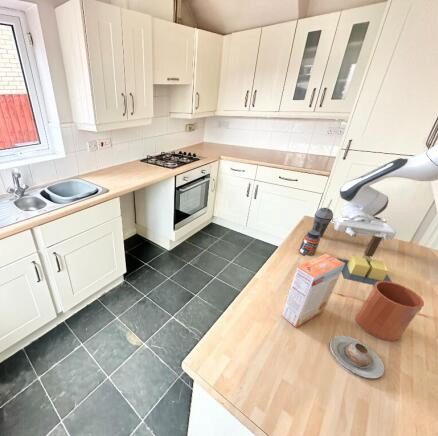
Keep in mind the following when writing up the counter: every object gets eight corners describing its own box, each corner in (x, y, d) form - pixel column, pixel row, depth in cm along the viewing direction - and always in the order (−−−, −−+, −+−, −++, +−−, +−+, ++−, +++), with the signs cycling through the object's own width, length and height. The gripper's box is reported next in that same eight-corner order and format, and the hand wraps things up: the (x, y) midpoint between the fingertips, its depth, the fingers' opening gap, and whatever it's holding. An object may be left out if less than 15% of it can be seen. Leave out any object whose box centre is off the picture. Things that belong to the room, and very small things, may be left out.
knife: (362, 264, 100) (379, 232, 93) (366, 271, 96) (383, 239, 89) (356, 263, 101) (372, 231, 94) (360, 270, 97) (377, 238, 90)
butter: (377, 271, 96) (383, 261, 94) (382, 281, 92) (388, 270, 89) (346, 264, 100) (351, 255, 98) (350, 274, 95) (355, 264, 93)
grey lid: (321, 354, 68) (327, 343, 66) (337, 330, 75) (343, 320, 72) (375, 390, 60) (383, 380, 58) (388, 361, 66) (396, 350, 64)
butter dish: (382, 269, 99) (383, 267, 98) (396, 292, 88) (397, 290, 87) (335, 259, 105) (336, 257, 104) (342, 280, 94) (343, 278, 93)
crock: (391, 318, 78) (413, 286, 71) (405, 346, 70) (432, 313, 63) (352, 308, 82) (369, 276, 75) (361, 333, 74) (381, 301, 67)
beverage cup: (304, 234, 123) (316, 198, 113) (314, 231, 125) (327, 195, 115) (317, 241, 117) (332, 204, 107) (328, 238, 119) (343, 201, 109)
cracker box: (306, 300, 86) (326, 252, 75) (323, 312, 81) (347, 263, 71) (278, 314, 80) (296, 265, 70) (295, 328, 76) (316, 278, 66)
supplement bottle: (300, 256, 107) (308, 235, 102) (296, 248, 112) (304, 227, 107) (315, 258, 106) (324, 236, 100) (311, 250, 111) (319, 229, 105)
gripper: (333, 212, 112) (340, 225, 101) (390, 220, 104) (404, 236, 93) (329, 223, 115) (334, 238, 104) (383, 232, 107) (396, 249, 96)
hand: (368, 237), depth 98 cm, fingers open, 8 cm apart
